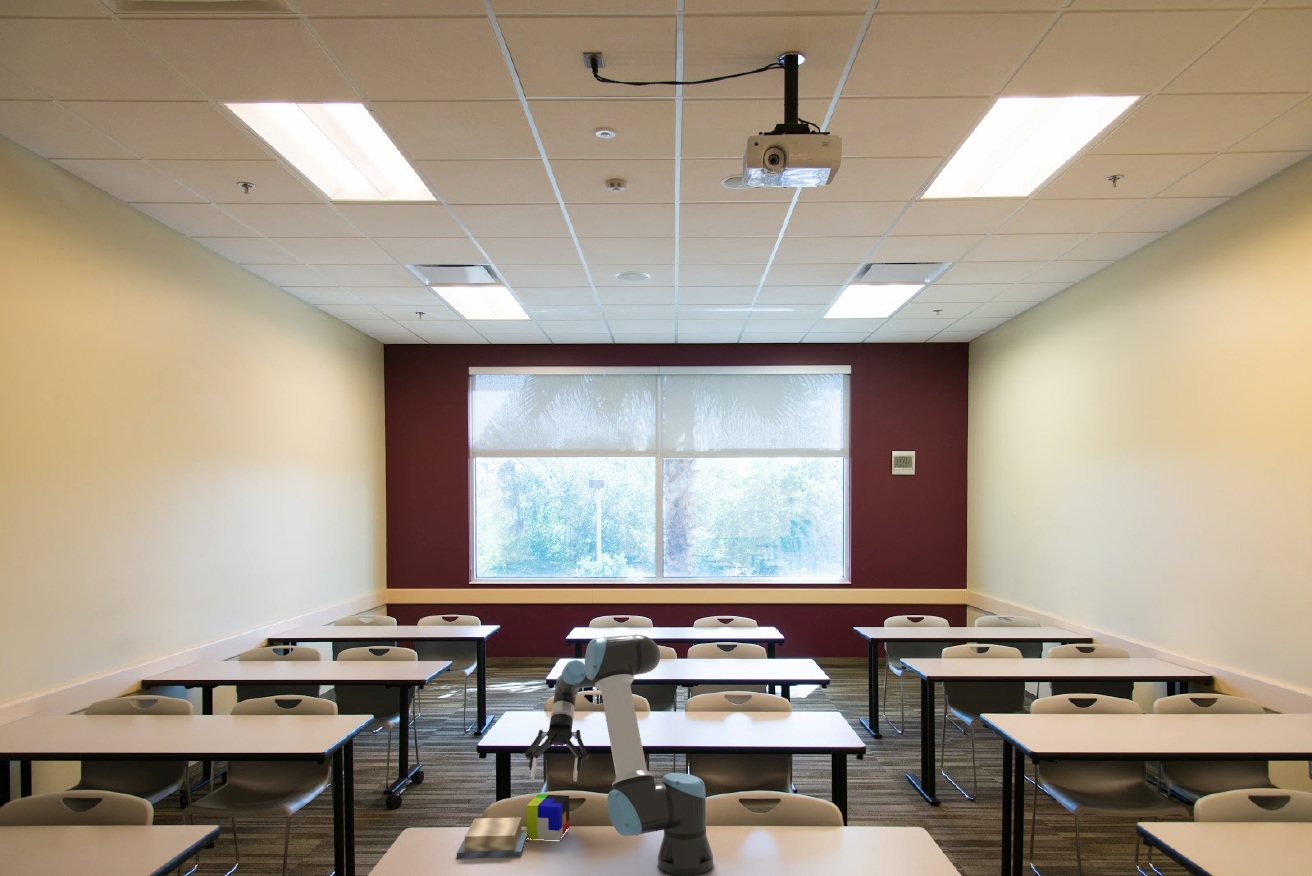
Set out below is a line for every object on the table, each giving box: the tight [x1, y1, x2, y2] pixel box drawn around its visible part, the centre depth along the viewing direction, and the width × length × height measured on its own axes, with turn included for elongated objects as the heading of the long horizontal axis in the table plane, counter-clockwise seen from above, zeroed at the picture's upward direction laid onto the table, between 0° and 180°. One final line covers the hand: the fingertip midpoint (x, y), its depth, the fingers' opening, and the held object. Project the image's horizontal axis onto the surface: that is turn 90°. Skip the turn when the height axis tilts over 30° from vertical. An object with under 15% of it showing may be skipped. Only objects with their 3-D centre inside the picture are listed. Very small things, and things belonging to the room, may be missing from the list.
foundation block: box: [456, 817, 527, 860], centre depth 234 cm, size 18×16×6 cm
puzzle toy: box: [526, 793, 570, 840], centre depth 242 cm, size 10×10×10 cm
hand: (553, 779), depth 252 cm, fingers open, 13 cm apart
